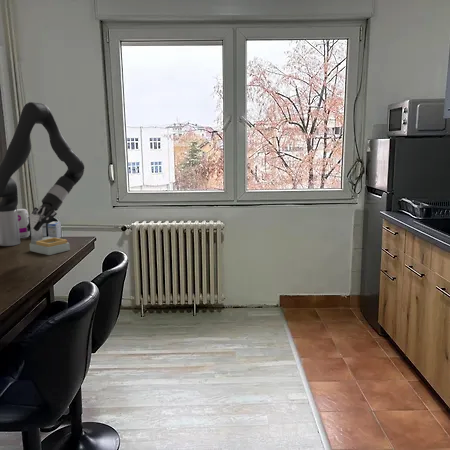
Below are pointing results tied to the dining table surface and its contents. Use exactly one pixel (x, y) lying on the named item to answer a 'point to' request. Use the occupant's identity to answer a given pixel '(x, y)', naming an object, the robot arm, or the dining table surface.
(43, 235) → the skincare box
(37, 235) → the grey tall cylinder
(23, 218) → the supplement can
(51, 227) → the medicine box
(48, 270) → the dining table surface
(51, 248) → the bottle holder tray
